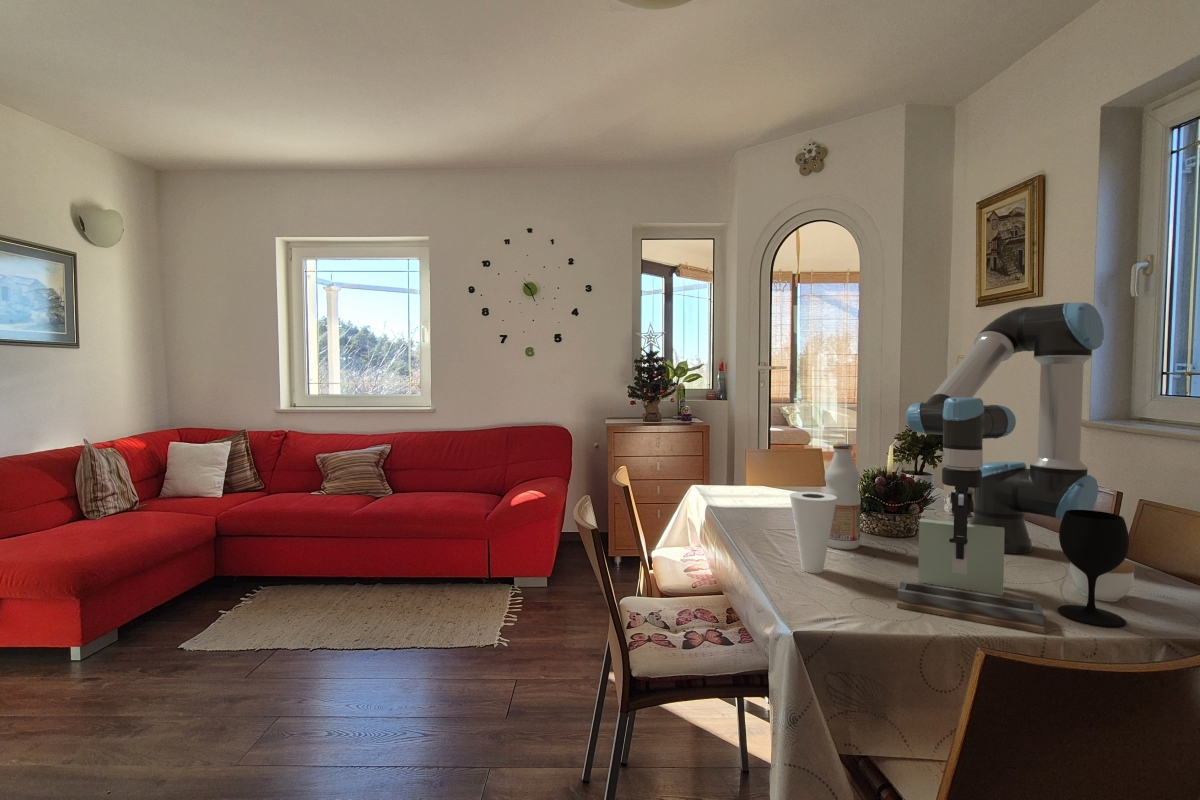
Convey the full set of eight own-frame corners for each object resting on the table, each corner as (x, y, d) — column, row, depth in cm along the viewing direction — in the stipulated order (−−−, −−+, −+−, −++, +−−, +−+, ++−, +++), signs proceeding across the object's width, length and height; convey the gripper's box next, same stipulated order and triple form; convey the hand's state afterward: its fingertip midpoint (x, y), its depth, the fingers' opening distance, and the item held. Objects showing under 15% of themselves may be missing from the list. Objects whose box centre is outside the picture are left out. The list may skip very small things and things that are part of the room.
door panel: (1002, 591, 130) (1003, 527, 130) (1003, 595, 128) (1004, 530, 127) (919, 578, 139) (920, 518, 138) (918, 582, 136) (919, 521, 136)
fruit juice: (836, 551, 160) (837, 446, 159) (816, 541, 170) (817, 443, 169) (867, 548, 162) (868, 445, 161) (846, 539, 172) (847, 442, 171)
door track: (1038, 615, 117) (1039, 599, 117) (1044, 633, 109) (1044, 617, 109) (901, 592, 130) (901, 578, 130) (896, 607, 121) (897, 592, 121)
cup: (843, 569, 145) (844, 495, 144) (825, 580, 137) (825, 502, 137) (800, 560, 152) (801, 490, 152) (781, 570, 145) (782, 496, 144)
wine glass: (1140, 630, 110) (1143, 522, 109) (1075, 625, 112) (1078, 519, 111) (1104, 608, 120) (1107, 509, 120) (1046, 604, 122) (1048, 507, 122)
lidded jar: (1055, 587, 133) (1056, 545, 132) (1105, 587, 132) (1106, 545, 132) (1094, 605, 122) (1095, 560, 122) (1148, 606, 122) (1150, 560, 121)
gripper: (944, 459, 144) (942, 549, 145) (939, 473, 124) (937, 577, 125) (981, 462, 140) (979, 554, 141) (983, 476, 120) (980, 584, 121)
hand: (959, 565), depth 133 cm, fingers open, 11 cm apart
